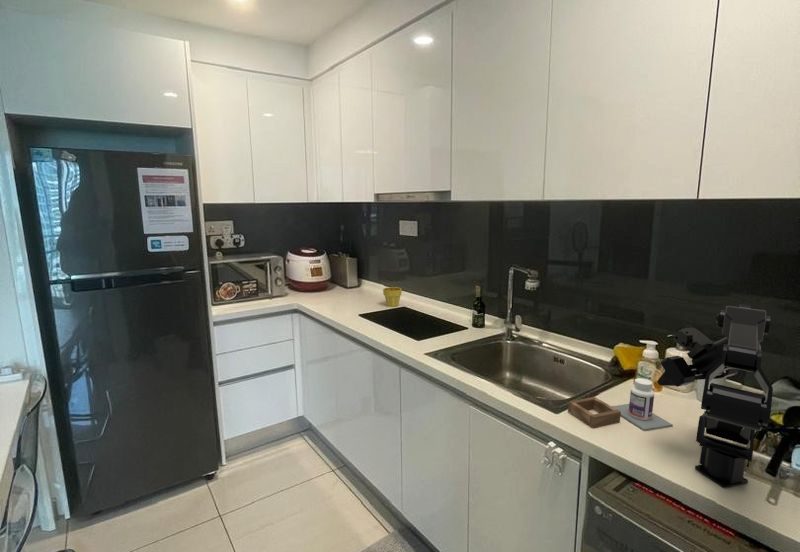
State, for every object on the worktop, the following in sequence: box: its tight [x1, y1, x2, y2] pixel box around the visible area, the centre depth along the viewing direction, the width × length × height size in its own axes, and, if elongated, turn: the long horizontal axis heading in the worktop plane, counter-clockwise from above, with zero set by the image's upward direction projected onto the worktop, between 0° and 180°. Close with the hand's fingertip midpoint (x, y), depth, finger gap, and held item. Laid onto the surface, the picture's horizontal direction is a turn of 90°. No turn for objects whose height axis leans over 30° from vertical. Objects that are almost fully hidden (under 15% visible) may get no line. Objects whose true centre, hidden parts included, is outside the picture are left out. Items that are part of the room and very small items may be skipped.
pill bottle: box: [628, 377, 655, 420], centre depth 107 cm, size 5×5×10 cm
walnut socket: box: [567, 396, 621, 429], centre depth 108 cm, size 9×9×3 cm
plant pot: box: [382, 286, 402, 308], centre depth 228 cm, size 10×10×10 cm
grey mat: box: [611, 403, 674, 432], centre depth 108 cm, size 12×9×1 cm
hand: (672, 380), depth 99 cm, fingers open, 9 cm apart
